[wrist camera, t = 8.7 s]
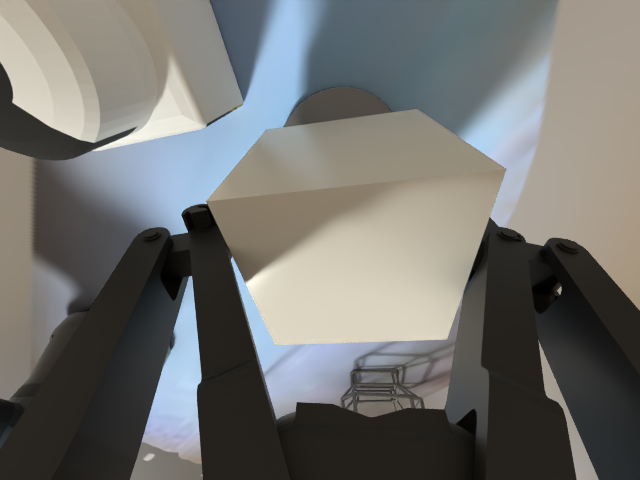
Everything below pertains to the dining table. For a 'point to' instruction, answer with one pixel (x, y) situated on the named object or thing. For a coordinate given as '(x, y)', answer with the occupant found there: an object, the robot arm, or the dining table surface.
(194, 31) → the medicine bottle
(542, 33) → the dining table surface
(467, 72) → the dining table surface
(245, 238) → the cream cube
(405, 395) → the geometric lantern
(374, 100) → the coaster
